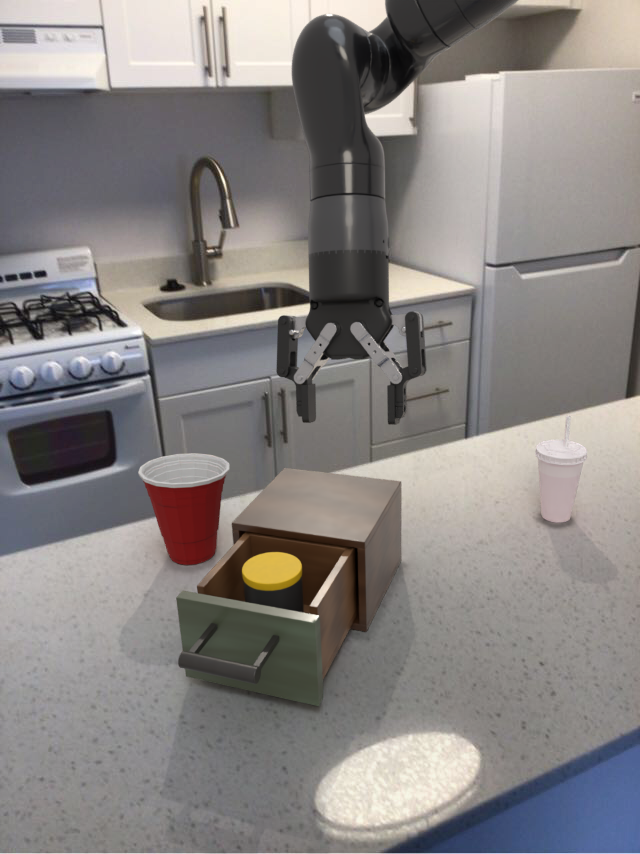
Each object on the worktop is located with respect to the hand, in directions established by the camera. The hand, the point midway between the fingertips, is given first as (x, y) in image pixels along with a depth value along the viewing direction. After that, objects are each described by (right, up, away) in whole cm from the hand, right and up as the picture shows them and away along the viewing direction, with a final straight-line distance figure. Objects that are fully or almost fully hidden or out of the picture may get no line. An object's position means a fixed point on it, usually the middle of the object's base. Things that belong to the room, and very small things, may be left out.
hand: (351, 422), depth 73 cm
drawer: (-8, -23, 0) cm, 25 cm away
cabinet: (-3, -18, +14) cm, 23 cm away
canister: (-7, -21, +2) cm, 22 cm away
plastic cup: (-19, -16, +22) cm, 33 cm away
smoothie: (+28, -12, +27) cm, 41 cm away
